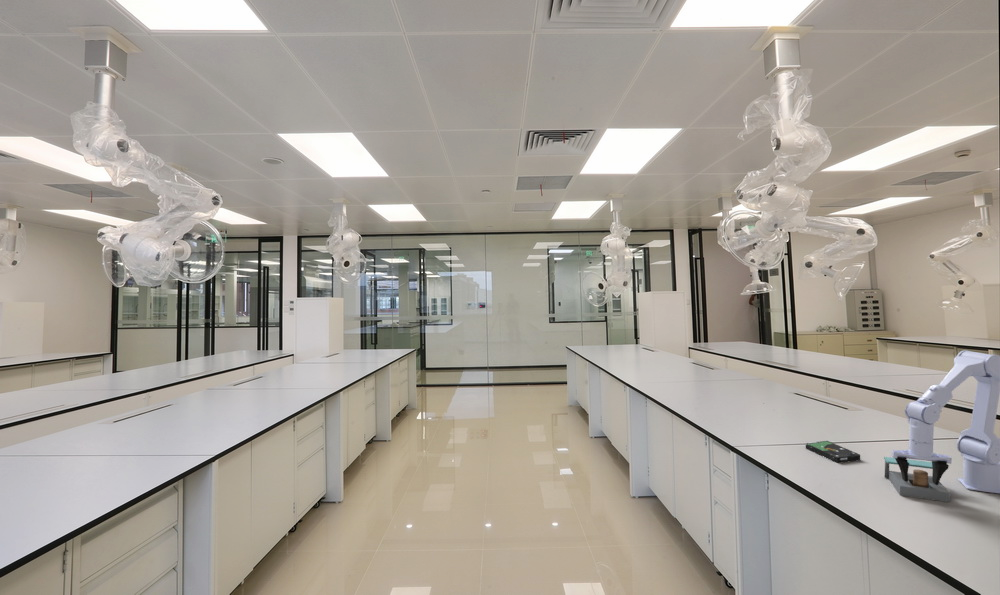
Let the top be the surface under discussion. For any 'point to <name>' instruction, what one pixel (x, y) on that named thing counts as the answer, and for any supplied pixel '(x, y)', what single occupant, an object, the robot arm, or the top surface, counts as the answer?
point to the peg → (920, 478)
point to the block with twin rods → (911, 462)
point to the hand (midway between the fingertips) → (920, 481)
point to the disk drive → (833, 451)
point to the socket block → (918, 488)
